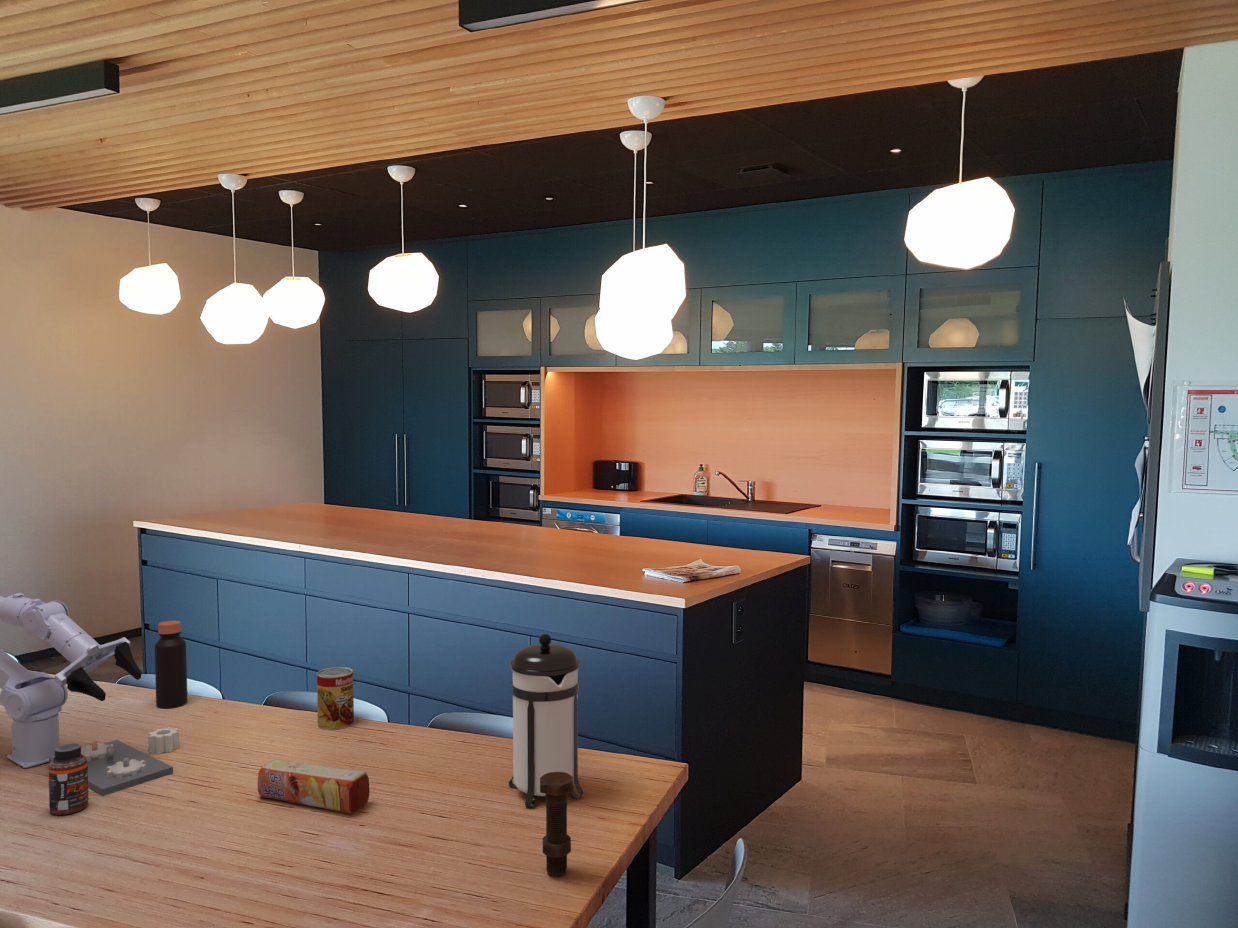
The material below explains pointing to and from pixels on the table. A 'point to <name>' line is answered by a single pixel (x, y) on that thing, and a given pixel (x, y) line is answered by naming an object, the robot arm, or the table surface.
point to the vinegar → (170, 666)
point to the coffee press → (544, 716)
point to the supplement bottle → (68, 780)
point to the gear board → (120, 766)
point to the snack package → (314, 785)
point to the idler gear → (163, 740)
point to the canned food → (335, 698)
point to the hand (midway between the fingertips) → (122, 686)
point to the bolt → (556, 821)
